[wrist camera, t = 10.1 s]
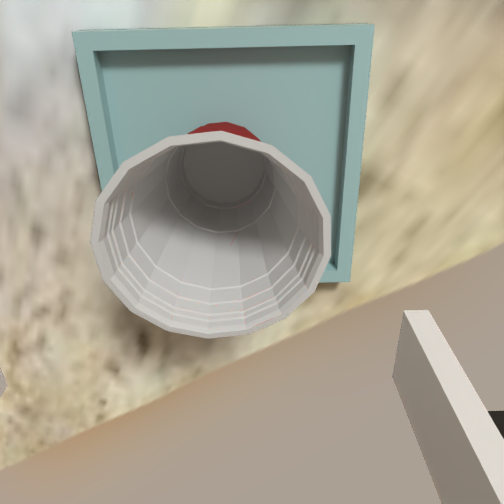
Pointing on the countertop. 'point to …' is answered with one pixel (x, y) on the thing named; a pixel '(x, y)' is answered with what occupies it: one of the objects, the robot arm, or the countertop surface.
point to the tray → (238, 100)
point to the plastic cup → (211, 233)
